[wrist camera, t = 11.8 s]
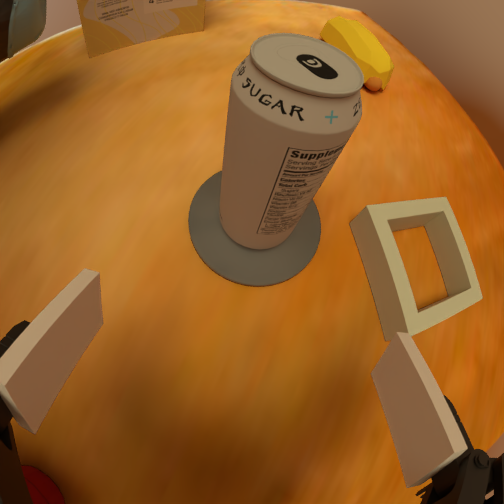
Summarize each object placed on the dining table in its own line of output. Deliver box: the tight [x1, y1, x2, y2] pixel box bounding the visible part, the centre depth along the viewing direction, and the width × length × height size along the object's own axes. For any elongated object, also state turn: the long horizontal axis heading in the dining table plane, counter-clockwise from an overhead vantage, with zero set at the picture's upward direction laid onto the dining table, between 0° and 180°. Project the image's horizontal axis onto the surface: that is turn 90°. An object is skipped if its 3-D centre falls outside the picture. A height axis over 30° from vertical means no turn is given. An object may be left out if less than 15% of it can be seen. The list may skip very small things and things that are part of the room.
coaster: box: [188, 171, 321, 287], centre depth 24 cm, size 11×11×1 cm
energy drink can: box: [219, 33, 364, 249], centre depth 17 cm, size 6×6×15 cm
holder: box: [349, 197, 483, 341], centre depth 23 cm, size 11×11×4 cm
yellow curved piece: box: [320, 16, 394, 91], centre depth 34 cm, size 18×7×8 cm
